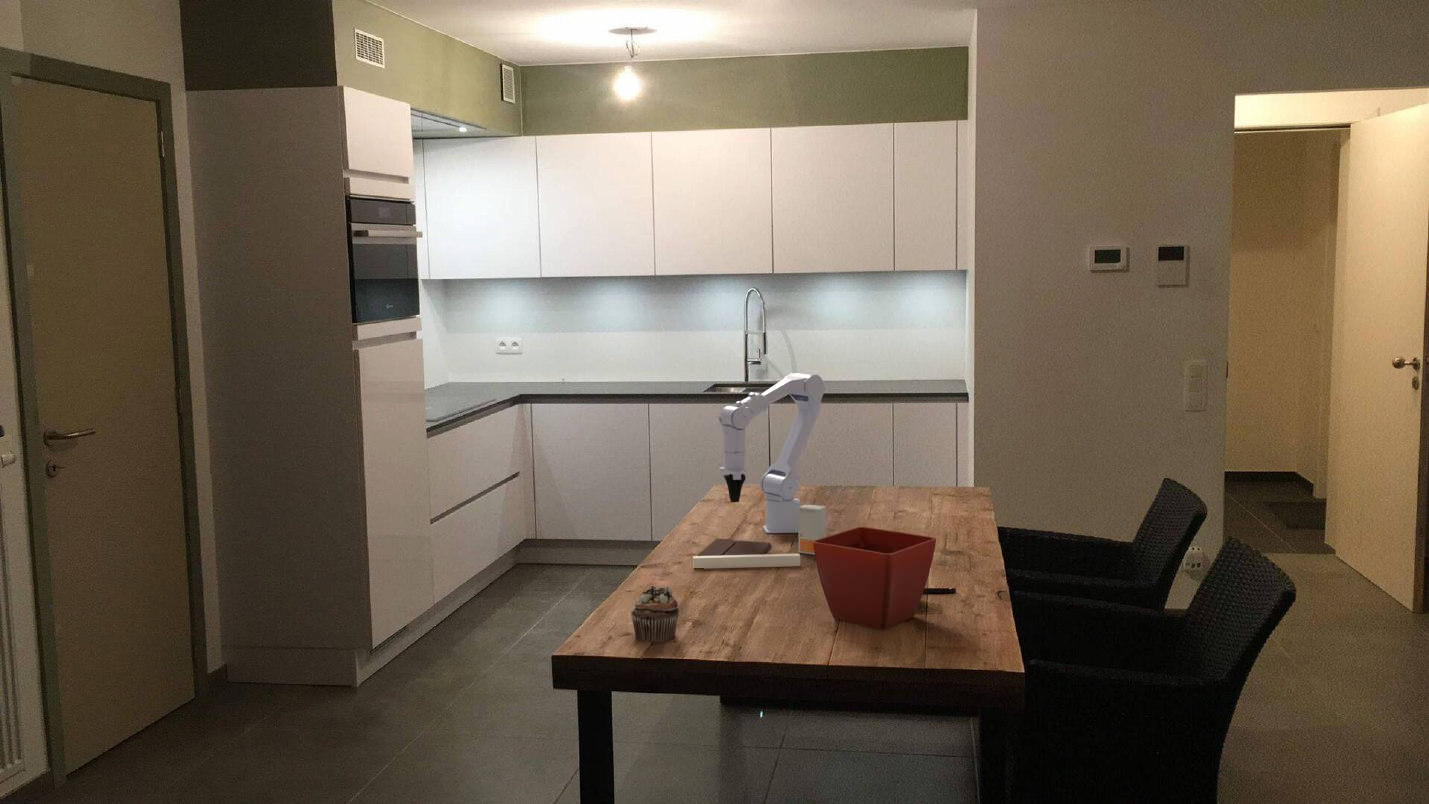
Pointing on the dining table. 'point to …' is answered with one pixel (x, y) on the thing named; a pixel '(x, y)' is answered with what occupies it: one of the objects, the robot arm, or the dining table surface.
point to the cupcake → (655, 615)
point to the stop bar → (746, 561)
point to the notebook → (735, 548)
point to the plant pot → (874, 574)
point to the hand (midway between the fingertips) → (734, 501)
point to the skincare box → (811, 527)
